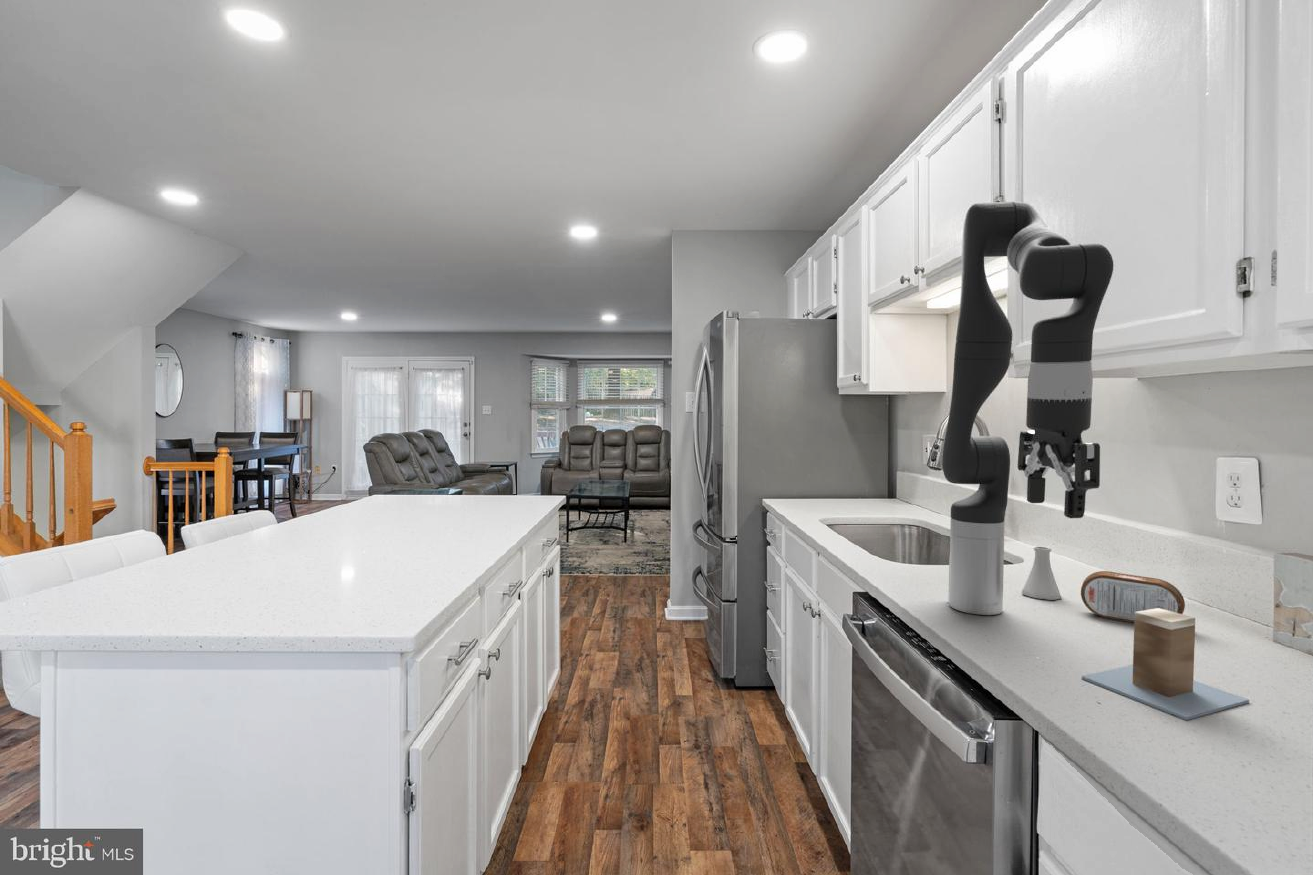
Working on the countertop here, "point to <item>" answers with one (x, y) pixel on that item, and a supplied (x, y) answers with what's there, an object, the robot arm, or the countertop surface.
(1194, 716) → the mat
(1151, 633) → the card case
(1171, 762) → the countertop surface
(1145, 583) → the tin
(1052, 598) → the flask
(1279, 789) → the countertop surface
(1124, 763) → the countertop surface
